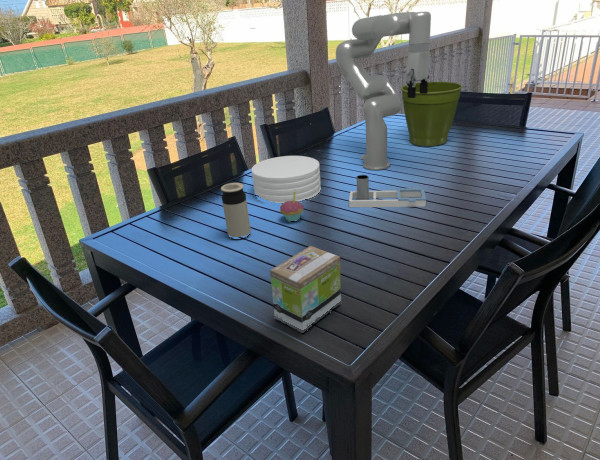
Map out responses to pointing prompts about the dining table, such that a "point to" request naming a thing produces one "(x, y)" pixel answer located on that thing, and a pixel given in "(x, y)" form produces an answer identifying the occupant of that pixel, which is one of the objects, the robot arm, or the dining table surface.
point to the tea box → (306, 286)
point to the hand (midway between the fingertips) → (417, 95)
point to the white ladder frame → (391, 194)
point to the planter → (362, 187)
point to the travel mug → (235, 210)
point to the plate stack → (286, 178)
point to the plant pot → (431, 112)
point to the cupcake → (292, 209)
